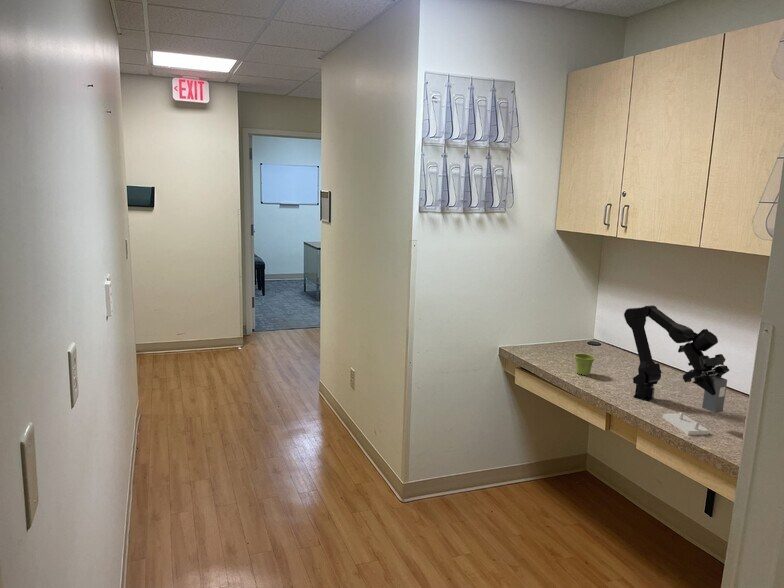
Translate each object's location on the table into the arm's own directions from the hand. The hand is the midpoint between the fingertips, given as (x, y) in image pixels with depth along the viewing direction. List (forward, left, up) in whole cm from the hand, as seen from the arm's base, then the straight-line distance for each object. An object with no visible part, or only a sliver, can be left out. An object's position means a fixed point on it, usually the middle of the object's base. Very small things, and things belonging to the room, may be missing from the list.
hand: (718, 394), depth 213 cm
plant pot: (-62, +26, -14) cm, 69 cm away
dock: (-9, -5, -13) cm, 17 cm away
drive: (-1, +1, -7) cm, 7 cm away
